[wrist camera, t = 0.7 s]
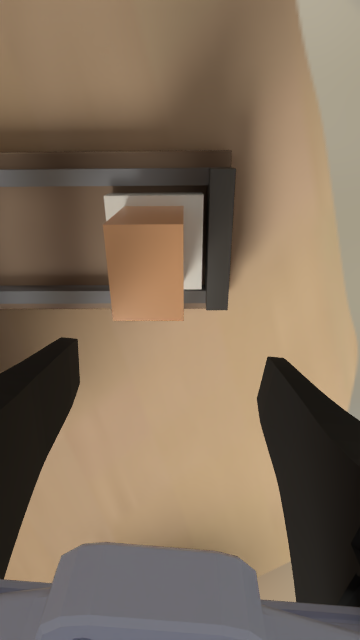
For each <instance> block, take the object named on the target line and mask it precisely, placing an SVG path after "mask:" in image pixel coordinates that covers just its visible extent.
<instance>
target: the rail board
mask: <svg viewBox="0 0 360 640" xmlns="http://www.w3.org/2000/svg"><path fill="white" fill-rule="evenodd" d="M231 153H232V150H227V151H116V152H4V153H0V309H112V307H111V297H110V288H109V279H108V269H107V260H106V251H105V242H104V232H103V224H104V223H105V222H106V215H105V205H104V196H105V195H107V194H109V193H171V192H202V193H203V195H204V200H203V245H202V289H184V309H206V310H227V308H228V292H229V275H230V259H231V242H232V225H233V209H234V192H235V176H236V169H235V168H231Z"/></svg>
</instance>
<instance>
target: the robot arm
mask: <svg viewBox="0 0 360 640" xmlns="http://www.w3.org/2000/svg"><path fill="white" fill-rule="evenodd" d="M79 384H80V376H79V357H78V339H73V338H62V337H61V338H59V339H58V340H56V341H54V342H53V343H51V344H49V345H48V346H46V347H45V348H43V349H41V350H40V351H38V352H37V353H35V354H33V355H32V356H30V357H29V358H27V359H25V360H24V361H22V362H20V363H19V364H17V365H15V366H13V367H11V368H10V369H8V370H6V371H4V372H2V373H1V374H0V640H360V421H359V420H358V419H356V418H355V417H353V416H352V415H350V414H349V413H348V412H346V411H345V410H344V409H342V408H341V407H340V406H339V405H337V404H336V403H335V402H333V401H332V400H331V399H330V398H328V397H327V396H326V395H325V394H324V393H322V392H321V391H320V390H319V389H318V388H317V387H316V386H314V385H313V384H312V383H311V382H310V381H309V380H308V379H307V378H306V377H304V376H303V375H302V374H301V373H300V372H299V371H298V370H297V369H296V368H295V367H294V366H292V365H291V364H290V363H289V362H288V361H287V360H285V359H284V358H278V357H267V361H266V365H265V369H264V373H263V377H262V381H261V385H260V389H259V393H258V397H257V403H258V411H259V417H260V423H261V426H262V430H263V434H264V437H265V441H266V444H267V447H268V451H269V454H270V457H271V461H272V464H273V468H274V471H275V474H276V478H277V482H278V486H279V491H280V496H281V502H282V507H283V512H284V518H285V524H286V531H287V537H288V543H289V550H290V557H291V563H292V570H293V578H294V586H295V595H296V602H285V601H271V600H260V594H259V588H258V582H257V575H256V571H255V570H254V569H253V568H251V567H250V566H249V565H248V564H246V563H245V562H244V561H243V560H241V559H240V558H239V557H237V556H234V555H230V554H226V553H222V552H218V551H209V550H197V549H185V548H172V547H160V546H148V545H135V544H123V543H110V542H101V543H88V544H82V545H80V546H78V547H76V548H75V549H73V550H71V551H69V552H67V553H65V554H64V555H62V556H61V559H60V562H59V564H58V567H57V570H56V573H55V576H54V579H53V582H52V583H42V582H29V581H16V580H4V577H5V573H6V570H7V567H8V564H9V560H10V557H11V554H12V551H13V548H14V545H15V542H16V539H17V536H18V533H19V530H20V527H21V524H22V521H23V518H24V515H25V512H26V510H27V507H28V504H29V501H30V498H31V496H32V493H33V490H34V487H35V485H36V482H37V480H38V477H39V474H40V472H41V469H42V467H43V464H44V462H45V460H46V458H47V455H48V453H49V451H50V449H51V448H52V446H53V444H54V442H55V440H56V438H57V436H58V434H59V432H60V430H61V428H62V426H63V424H64V422H65V420H66V418H67V416H68V414H69V411H70V409H71V407H72V405H73V402H74V399H75V396H76V393H77V390H78V387H79Z"/></svg>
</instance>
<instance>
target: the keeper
mask: <svg viewBox="0 0 360 640" xmlns="http://www.w3.org/2000/svg"><path fill="white" fill-rule="evenodd" d="M203 200H204V195H203V193H202V192H171V193H109V194H107V195H105V196H104V205H105V215H106V222H105V223H104V224H103V232H104V242H105V251H106V260H107V269H108V279H109V288H110V297H111V307H112V316H113V321H184V289H202V245H203Z"/></svg>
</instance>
